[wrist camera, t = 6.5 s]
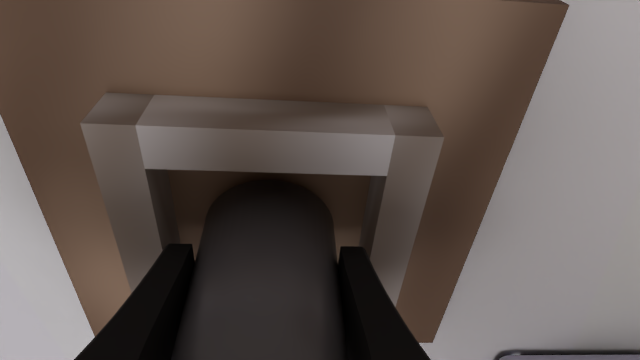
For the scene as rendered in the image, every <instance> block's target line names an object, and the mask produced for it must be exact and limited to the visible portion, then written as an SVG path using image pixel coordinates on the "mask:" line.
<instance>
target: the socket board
mask: <svg viewBox="0 0 640 360" xmlns="http://www.w3.org/2000/svg"><path fill="white" fill-rule="evenodd" d="M568 7H569V5H568V4H566V3H564V2H562V1H560V0H0V114H1V117H2V119H3V121H4V124H5V126H6V128H7V131H8V133H9V135H10V138H11V140H12V142H13V145H14V147H15V149H16V152H17V154H18V157H19V159H20V161H21V164H22V166H23V168H24V171H25V173H26V175H27V178H28V180H29V182H30V185H31V187H32V190H33V192H34V194H35V197H36V199H37V201H38V204H39V206H40V208H41V211H42V213H43V215H44V218H45V220H46V222H47V225H48V227H49V230H50V232H51V234H52V237H53V239H54V241H55V244H56V246H57V248H58V251H59V253H60V255H61V258H62V260H63V263H64V265H65V267H66V270H67V272H68V274H69V277H70V279H71V281H72V284H73V286H74V288H75V291H76V293H77V295H78V298H79V300H80V303H81V305H82V307H83V310H84V312H85V314H86V317H87V319H88V321H89V324H90V326H91V328H92V331H93V333H94V335H95V336H96V335H97V334H98V333H99V332H100V331H101V330H102V328H103V327H104V326H105V325H106V324H107V323H108V322H109V320H110V319H111V318H112V317H113V316H114V315H115V313H116V312H117V311H118V310H119V309H120V307H121V306H122V305H123V303H124V302H125V301H126V300H127V298H128V297H129V296H130V295H131V293H132V292H133V291H134V290H135V288H136V287H137V286H138V284H139V283H140V282H141V280H142V279H143V278H144V276H145V275H146V274H147V272H148V271H149V269H150V268H151V267H152V265H153V264H154V262H155V261H156V260H157V258H158V257H159V255H160V254H161V252H162V251H163V249H164V248H165V246H167V245H168V244H169V243H173V244H192V246H193V253H194V260H196V256H197V252H198V248H199V244H200V239H201V235H202V231H203V227H204V223H205V219H206V215H207V213H208V210H209V208H210V207H211V205H212V203H213V202H214V201H215V200H216V199H217V198H218V197H219V196H220V195H221V194H223V193H224V192H226V191H227V190H229V189H230V188H233V187H235V186H237V185H240V184H243V183H246V182H251V181H257V180H278V181H285V182H289V183H293V184H296V185H299V186H301V187H303V188H305V189H308V190H309V191H311V192H312V193H314V194H315V195H316V196H318V197H319V198H320V199H321V200H322V201H323V202H324V203H325V205H326V206H327V208H328V209H329V211H330V213H331V215H332V219H333V224H334V233H335V243H336V252H337V262H338V260H339V253H340V246H361V247H363V248H364V249H365V250H366V252H367V255H368V257H369V259H370V261H371V263H372V265H373V268H374V270H375V272H376V274H377V275H378V277H379V279H380V281H381V283H382V285H383V287H384V289H385V290H386V292H387V294H388V296H389V297H390V299H391V301H392V302H393V304H394V306H395V307H396V309H397V311H398V312H399V314H400V316H401V317H402V319H403V320H404V322H405V324H406V325H407V327H408V328H409V330H410V331H411V333H412V334H413V336H414V337H415V339H416V340H417V342H418V343H432V342H433V340H434V338H435V335H436V333H437V330H438V328H439V325H440V323H441V320H442V318H443V315H444V313H445V310H446V308H447V305H448V303H449V301H450V298H451V296H452V293H453V291H454V288H455V286H456V283H457V281H458V278H459V276H460V273H461V271H462V268H463V266H464V264H465V261H466V259H467V256H468V254H469V251H470V249H471V246H472V244H473V241H474V239H475V236H476V234H477V231H478V229H479V227H480V224H481V222H482V219H483V217H484V214H485V212H486V209H487V207H488V204H489V202H490V199H491V197H492V194H493V192H494V189H495V187H496V185H497V182H498V180H499V177H500V175H501V172H502V170H503V167H504V165H505V162H506V160H507V157H508V155H509V152H510V150H511V148H512V145H513V143H514V140H515V138H516V135H517V133H518V130H519V128H520V125H521V123H522V120H523V118H524V115H525V113H526V111H527V108H528V106H529V103H530V101H531V98H532V96H533V93H534V91H535V88H536V86H537V83H538V81H539V78H540V76H541V74H542V71H543V69H544V66H545V64H546V61H547V59H548V56H549V54H550V51H551V49H552V46H553V44H554V41H555V39H556V37H557V34H558V32H559V29H560V27H561V24H562V22H563V19H564V17H565V14H566V12H567V9H568Z"/></svg>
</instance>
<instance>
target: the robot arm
mask: <svg viewBox="0 0 640 360" xmlns="http://www.w3.org/2000/svg"><path fill="white" fill-rule="evenodd" d="M194 264H195V260H194V253H193V246H192V244H173V243H169V244H168V245H167V246H165V248H164V249H163V251H162V252H161V254H160V255H159V257H158V258H157V260H156V261H155V262H154V264H153V265H152V267H151V268H150V269H149V271H148V272H147V274H146V275H145V276H144V278H143V279H142V280H141V282H140V283H139V284H138V286H137V287H136V288H135V290H134V291H133V292H132V293H131V295H130V296H129V297H128V298H127V300H126V301H125V302H124V303H123V305H122V306H121V307H120V309H119V310H118V311H117V312H116V313H115V315H114V316H113V317H112V318H111V319H110V320H109V322H108V323H107V324H106V325H105V326H104V327H103V328H102V330H101V331H100V332H99V333H98V334H97V335H96V336H95V338H94V339H93V340H92V341H91V342H90V343H89V344H88V345H87V346H86V347H85V349H84V350H83V351H82V352H81V353H80V354H79V355H78V356H77V357H76V358H75V359H74V360H171V357H172V353H173V349H174V345H175V341H176V337H177V333H178V329H179V325H180V321H181V317H182V313H183V308H184V304H185V300H186V296H187V292H188V288H189V284H190V280H191V276H192V272H193V268H194ZM338 271H339V281H340V290H341V299H342V309H343V318H344V328H345V337H346V347H347V356H348V360H430V358H429V357H428V356H427V354H426V353H425V351H424V350H423V349H422V347H421V346H420V344H419V343H418V342H417V340H416V339H415V337H414V336H413V334H412V333H411V331H410V330H409V328H408V327H407V325H406V324H405V322H404V320H403V319H402V317H401V316H400V314H399V312H398V311H397V309H396V307H395V306H394V304H393V302H392V301H391V299H390V297H389V296H388V294H387V292H386V290H385V289H384V287H383V285H382V283H381V281H380V279H379V277H378V275H377V274H376V272H375V270H374V268H373V265H372V263H371V261H370V259H369V257H368V255H367V252H366V250H365V249H364V248H363V247H361V246H340V253H339V260H338ZM499 360H640V355H508V356H504V357H501V358H500V359H499Z"/></svg>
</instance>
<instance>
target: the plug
mask: <svg viewBox="0 0 640 360" xmlns="http://www.w3.org/2000/svg"><path fill="white" fill-rule="evenodd" d="M171 360H348V356H347V347H346V337H345V328H344V318H343V309H342V299H341V290H340V281H339V271H338V262H337V252H336V243H335V233H334V224H333V219H332V215H331V213H330V211H329V209H328V208H327V206H326V205H325V203H324V202H323V201H322V200H321V199H320V198H319V197H318V196H316V195H315V194H314V193H312V192H311V191H309V190H308V189H305V188H303V187H301V186H299V185H296V184H293V183H289V182H285V181H278V180H257V181H251V182H246V183H243V184H240V185H237V186H235V187H233V188H230V189H229V190H227V191H226V192H224V193H223V194H221V195H220V196H219V197H218V198H217V199H216V200H215V201H214V202H213V203H212V205H211V207H210V208H209V210H208V213H207V215H206V219H205V223H204V227H203V231H202V235H201V239H200V244H199V248H198V252H197V256H196V260H195V264H194V268H193V272H192V276H191V280H190V284H189V288H188V292H187V296H186V300H185V304H184V308H183V313H182V317H181V321H180V325H179V329H178V333H177V337H176V341H175V345H174V349H173V353H172V357H171Z"/></svg>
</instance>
